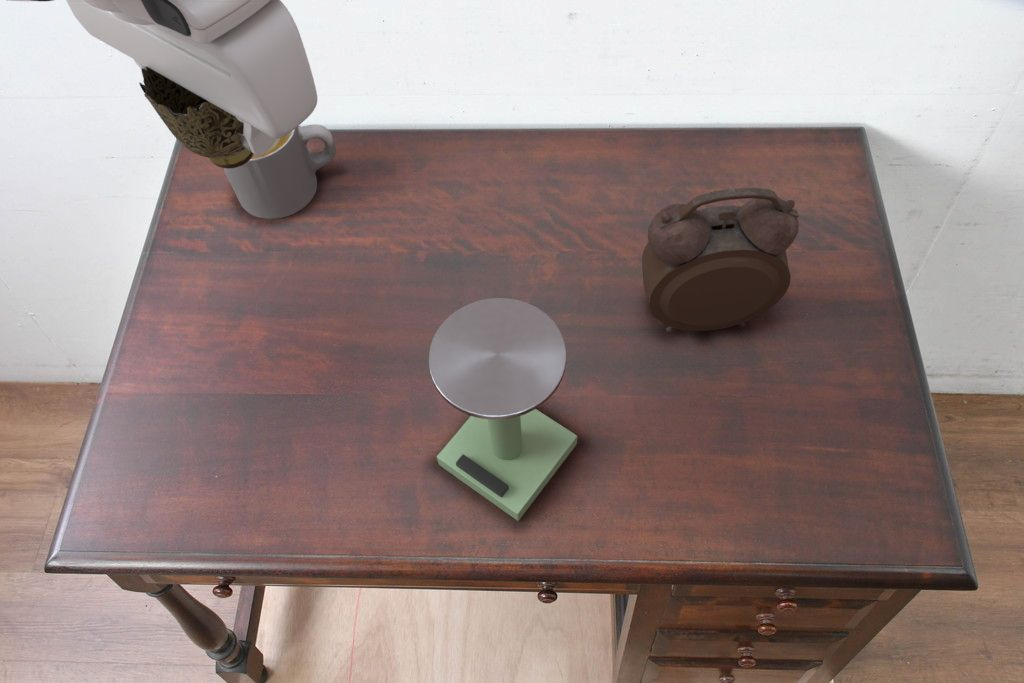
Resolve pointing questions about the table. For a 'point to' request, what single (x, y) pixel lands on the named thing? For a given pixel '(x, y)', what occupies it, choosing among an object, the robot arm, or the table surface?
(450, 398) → the brushed steel disc
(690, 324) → the alarm clock
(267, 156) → the coffee mug
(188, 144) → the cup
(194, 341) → the table surface
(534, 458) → the scale
